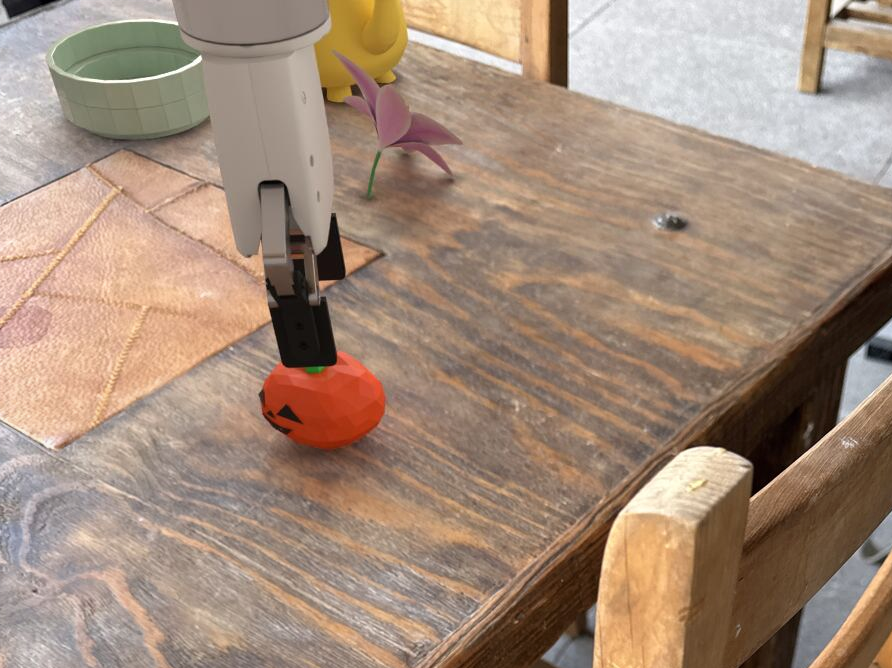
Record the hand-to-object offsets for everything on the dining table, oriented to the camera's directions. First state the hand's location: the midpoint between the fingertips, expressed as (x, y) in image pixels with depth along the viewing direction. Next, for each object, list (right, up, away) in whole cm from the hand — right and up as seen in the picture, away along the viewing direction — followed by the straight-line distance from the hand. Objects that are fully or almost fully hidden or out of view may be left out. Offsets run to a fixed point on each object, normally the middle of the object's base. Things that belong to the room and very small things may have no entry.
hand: (316, 319), depth 71 cm
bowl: (-25, +34, +36) cm, 56 cm away
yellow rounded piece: (-6, +39, +40) cm, 57 cm away
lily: (+1, +24, +29) cm, 37 cm away
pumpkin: (0, -5, +7) cm, 8 cm away
